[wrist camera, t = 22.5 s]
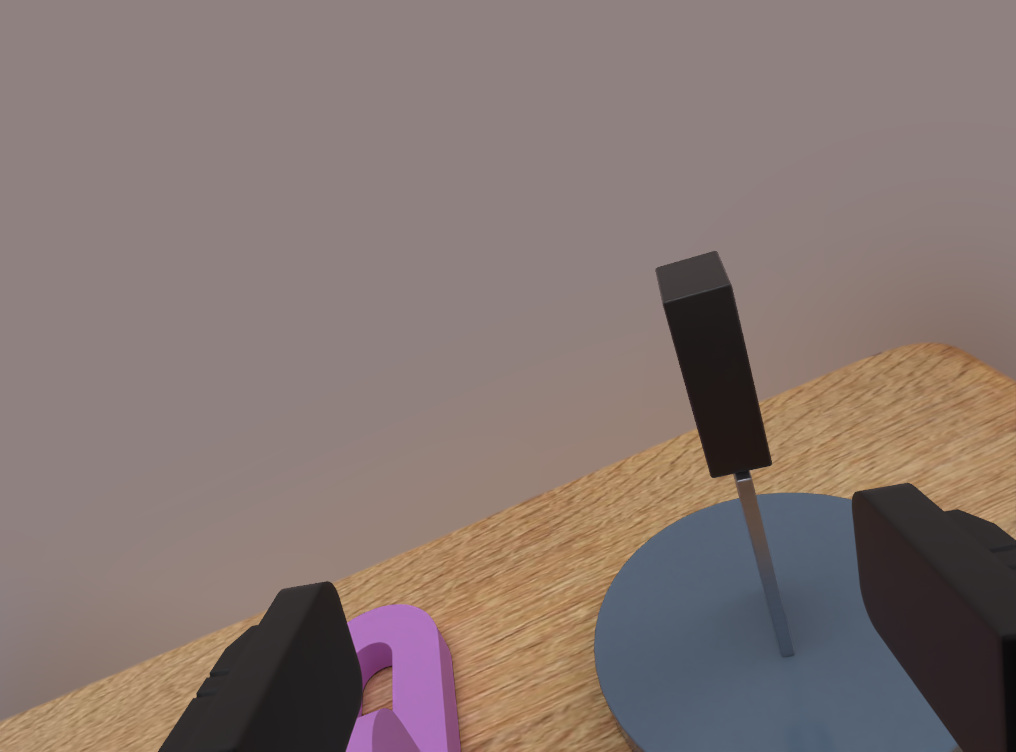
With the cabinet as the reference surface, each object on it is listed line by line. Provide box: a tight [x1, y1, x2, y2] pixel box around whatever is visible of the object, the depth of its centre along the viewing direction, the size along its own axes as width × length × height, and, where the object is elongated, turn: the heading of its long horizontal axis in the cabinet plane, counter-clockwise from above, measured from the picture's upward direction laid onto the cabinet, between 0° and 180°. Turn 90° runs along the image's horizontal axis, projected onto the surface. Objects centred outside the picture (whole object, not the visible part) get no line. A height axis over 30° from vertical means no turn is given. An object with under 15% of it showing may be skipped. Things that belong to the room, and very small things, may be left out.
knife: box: [656, 251, 795, 657], centre depth 21 cm, size 2×3×12 cm, turn 174°
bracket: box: [346, 604, 461, 752], centre depth 24 cm, size 13×6×7 cm, turn 8°
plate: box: [594, 493, 963, 752], centre depth 24 cm, size 12×12×1 cm
